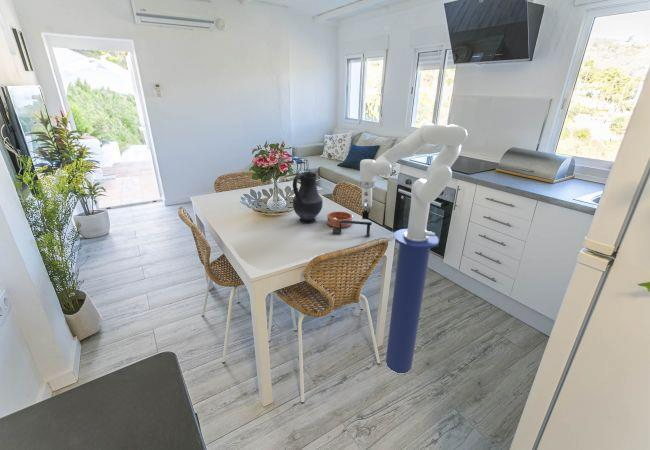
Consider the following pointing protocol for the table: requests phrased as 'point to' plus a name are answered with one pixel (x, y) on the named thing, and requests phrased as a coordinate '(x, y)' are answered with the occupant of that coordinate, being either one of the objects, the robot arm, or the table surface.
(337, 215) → the bowl
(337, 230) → the black lever handle
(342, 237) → the table surface
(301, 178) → the pitcher
